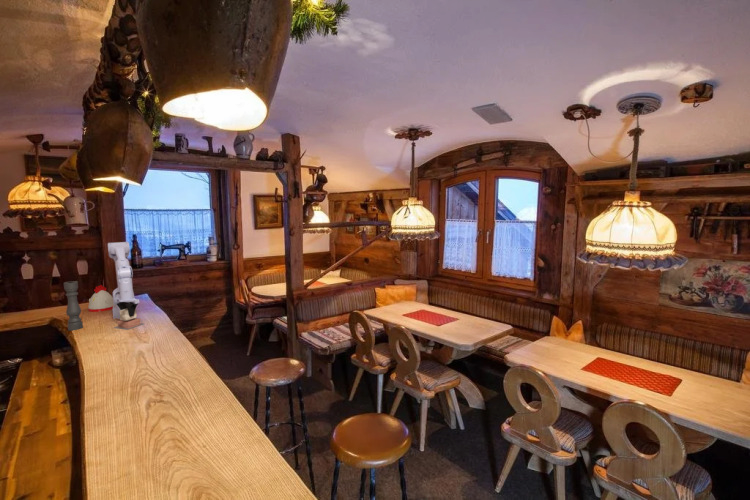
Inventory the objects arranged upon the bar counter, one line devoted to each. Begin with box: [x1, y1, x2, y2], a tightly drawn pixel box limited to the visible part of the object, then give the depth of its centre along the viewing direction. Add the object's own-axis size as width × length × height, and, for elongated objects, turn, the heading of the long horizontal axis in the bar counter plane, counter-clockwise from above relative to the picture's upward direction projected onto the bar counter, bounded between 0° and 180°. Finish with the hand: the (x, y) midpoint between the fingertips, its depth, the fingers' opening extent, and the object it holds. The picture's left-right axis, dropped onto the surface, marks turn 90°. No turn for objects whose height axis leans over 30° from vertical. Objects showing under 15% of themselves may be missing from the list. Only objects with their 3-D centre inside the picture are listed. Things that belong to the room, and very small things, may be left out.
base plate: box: [113, 322, 144, 331], centre depth 197 cm, size 10×10×2 cm
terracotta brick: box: [117, 317, 141, 329], centre depth 196 cm, size 7×7×3 cm
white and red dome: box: [87, 284, 115, 313], centre depth 234 cm, size 14×14×15 cm
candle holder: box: [63, 280, 84, 332], centre depth 195 cm, size 6×6×25 cm
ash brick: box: [119, 308, 137, 321], centre depth 196 cm, size 4×6×5 cm, turn 162°
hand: (128, 315), depth 196 cm, fingers closed on ash brick, 4 cm apart
